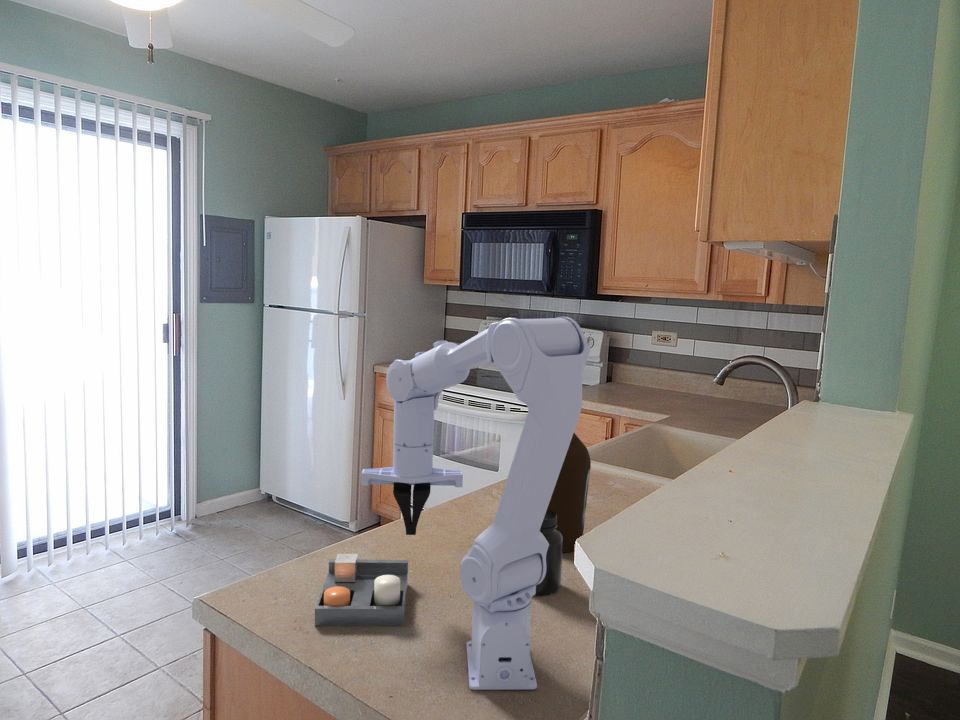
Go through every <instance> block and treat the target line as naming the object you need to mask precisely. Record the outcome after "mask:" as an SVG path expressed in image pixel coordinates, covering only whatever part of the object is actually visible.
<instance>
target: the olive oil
mask: <svg viewBox="0 0 960 720" xmlns="http://www.w3.org/2000/svg"><path fill="white" fill-rule="evenodd" d="M591 464H592V461H591V455H590V453H589V450H588V448H587V447H586V445H585V443H584V442H582V440H581V438H579V436H578V435H577V434H576V432H574V433H573V436H572V439H571V442H570V445H569V448H568V451H567V453H566V456H565V459H564V462H563V465H562V468H561V471H560V473H559V476H558V479H557V482H556V485H555V488H554V491H553V493H552V496H551V499H550V502H549V505H548V508H547V510H551V511H553V512H555V513H556V515H557V528H556V529H557V530H559V531H560V533H561V535H562V538H563V544H562V553H571V552H575V551H574V544H575V541H576V539H577V538H579V537H580V536H582V535H583V536H584V530H585V522H586V521H585V520H586V519H585V518H586V511H587V501H588V494H589V483H590V475H591V468H592V467H591V466H592V465H591Z"/></svg>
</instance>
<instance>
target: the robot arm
mask: <svg viewBox="0 0 960 720" xmlns="http://www.w3.org/2000/svg"><path fill="white" fill-rule="evenodd" d="M432 345H433V348H431V349H429V350H428V351H427V350H426V351H418V352H416V353H415V354H414V357H413V358H412V359H409V360H408V359H407V360H403V359H394V360H393V362H391V364H390V365H389V366H388V368H387V370H386V374H385V375H386V377H385V381H386V387H387V392H388V394H389V396H390V397H391V398H392V400H393V401H394V402H393V437H392V438H393V439H392V441H393V444H392V445H393V446H392V448H393V449H392V466H389V467H379V468H378V467H377V468H363V469H362V471H361V473H360V475H361V476H360V478H361V481H360V483H361V484H360V485H361V486H362V487H364V486H365V487H366V486H367V487H368V486H370V485H387V486H388V485H389V486H390V485H393V488H392V489H393V490H392V495H393V497H394V499H395V501H396V503H397V504H398V507H399V510H400V512H401V516H402V518H403V523H404V527H405V535H407V536H416V533H417V529H418V528H417V526H418V523H419V520H420V516H421V514H422V511H423V510H424V509H423V508H424V507H425V505H426V503H427V501H428V499H429V497H430V494H431V487H432V486H444V487H445V486H452V487H453V486H454V487H455V488H463V480H464V478H463V477H464V474H463V470H458V469H457V470H454V469H446V468H439V467H433V460H434V459H433V458H434V430H435V429H434V426H435V425H434V423H435V411H436V410H438V409H437V408H438V407H439V397H440V395H441V394H442V392H443V391H444V390H447V389H449V388H453V387H454V386H456V385H459V384H462V383H463V382H465V381H466V379H467V378H468V376H469V375H470V371H471V370H472V369H475V368H477V367H481V366H483V365H486V364H489V363H490V364H495V366H496V368H497V370H498V371H499V373H500V374H501V376H502V377H503V379H504V380H505V381H506V383H507V385H508V386H509V388H510V389H511V391H512V392H513V393H514V395H515V396H516V398H517V399H518V401H520V402H521V403H523V404H525V405H526V407H527V415H526V417H525V420H524V423H523V427H522V430H521V434H520V436H519V440H518V442H517V446H516V449H515V452H514V456H513V459H512V462H511V464H510V465H511V466H510V467H509V471H508V475H507V478H506V480H505V484H504V488H503V490H502V493H501V497H500V501H499V504H498V507H497V510H496V512H495V517H494V519H493V522H492V523H491V524H490V525H489V526H488V527H486V528H485V529H484V530H483V531H482V532H481V533H480V534H479V535H478V536H477V537H475V539H474V540H473V543H472V546H471V548H470V550H469V551H468V552H467V553H466V554H465V555H464V556H463V557H462V558H461V561H460V566H459V579H460V583H461V587H462V589H463V590H464V591H463V592H464V593H465V594H466V595H467V597H468V598H469V600H471V601H472V620H471V621H472V622H471V625H472V626H471V640H467V641H466V656H467V657H466V658H467V659H466V660H467V672H468V683H469V685H468V686H469V688H470V690H476V691H477V690H478V691H479V690H480V691H481V690H483V691H484V690H492V691H493V690H502V691H503V690H504V691H505V690H506V691H507V690H508V691H509V690H510V691H511V690H536V689H538V684H537V683H538V682H537V680H536V675H535V671H534V666H533V662H532V661H533V660H532V657H531V649H532V648H531V647H532V646H531V645H532V643H531V642H532V641H531V634H530V633H531V632H530V631H531V616H532V615H531V614H532V613H531V612H532V598H533V597H534V595H535V594H536V585H538V584H540V583H541V582H542V581H543V579H544V577H545V575H546V553H547V550H548V547H549V543H548V542H547V540H546V538H545V537H544V535H543V534H542V533H541V532H540V528H541V525H542V522H543V519H544V516H545V514H546V511H547V508H548V505H549V502H550V499H551V496H552V493H553V491H554V488H555V485H556V482H557V479H558V476H559V473H560V471H561V468H562V465H563V462H564V459H565V456H566V453H567V451H568V448H569V445H570V442H571V439H572V436H573V433H575V430H576V427H577V424H578V423H579V418H580V416H581V414H582V413H581V412H582V407H583V374H584V370H585V367H586V364H587V361H588V359H589V355H590V352H591V348H590V346H589V343H588V341H587V338H586V336H585V334H584V332H583V330H582V328H581V326H580V324H579V323H578V322H577V321H576V320H575V319H573V318H571V317H569V316H557V317H554V318H553V317H549V318H517V317H506V318H503V319H502V320H500V321H497V322H493V323H490V324H489V326H488V328H486V329H484V330H483V331H481V332H479V333H477V334H476V335H474V336H472V337H471V338H469V339H467V340H466V341H464V342H462V343H460V344H457V343H455V342H451V341H450V342H448V340H437V341H436V342H434V343H433V344H432Z"/></svg>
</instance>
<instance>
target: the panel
mask: <svg viewBox="0 0 960 720" xmlns="http://www.w3.org/2000/svg"><path fill="white" fill-rule="evenodd" d="M335 560H336V558H332V559H329V560H328V572H327V575H326V577H325V580H324V584H323V586H322V589H321V591H320V594H319V596H318V599H317V601H316V605H315V608H314V627H404V625H405V624H404V623H405V614H406V613H405V612H406V604H407V594H408V593H407V592H408V586H407V585H409V583H408V582H409V560H408V559H358V573H357V577H356V581H355V582H335ZM382 575H394V576H397V577H399V578H400V602H399V603H398V604H397V605H395V606H377V605H376V604H375V603H374V581H375V579H376V578H377V577H379V576H382ZM336 586H341V587H346V588H348V589H349V590H350V606H324V592H325V590H327V589H329V588H331V587H336Z"/></svg>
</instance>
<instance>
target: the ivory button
mask: <svg viewBox="0 0 960 720" xmlns="http://www.w3.org/2000/svg"><path fill="white" fill-rule="evenodd" d="M399 602H400V578H399V577H397V576H394V575H382V576H379V577H377V578H376V579H375V581H374V603H375V604H376V605H377V606H395V605H397V604H398V603H399Z"/></svg>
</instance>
